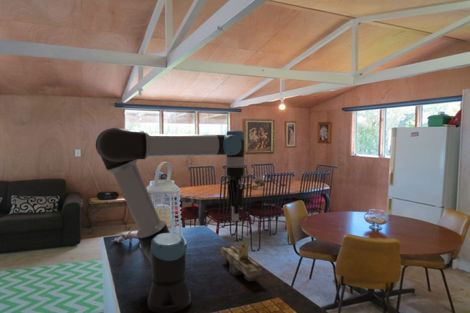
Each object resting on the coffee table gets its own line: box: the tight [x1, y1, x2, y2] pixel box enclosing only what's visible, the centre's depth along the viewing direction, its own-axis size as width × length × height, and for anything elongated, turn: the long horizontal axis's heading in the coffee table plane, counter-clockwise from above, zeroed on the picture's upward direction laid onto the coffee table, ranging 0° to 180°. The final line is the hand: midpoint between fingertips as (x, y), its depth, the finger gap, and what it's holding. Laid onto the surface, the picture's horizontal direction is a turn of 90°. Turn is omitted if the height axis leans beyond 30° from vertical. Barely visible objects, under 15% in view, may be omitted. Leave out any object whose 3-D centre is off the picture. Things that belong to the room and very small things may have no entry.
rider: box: [237, 243, 249, 262], centre depth 136 cm, size 4×4×7 cm
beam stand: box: [219, 245, 262, 282], centre depth 140 cm, size 28×7×7 cm, turn 25°
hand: (235, 220), depth 141 cm, fingers closed
